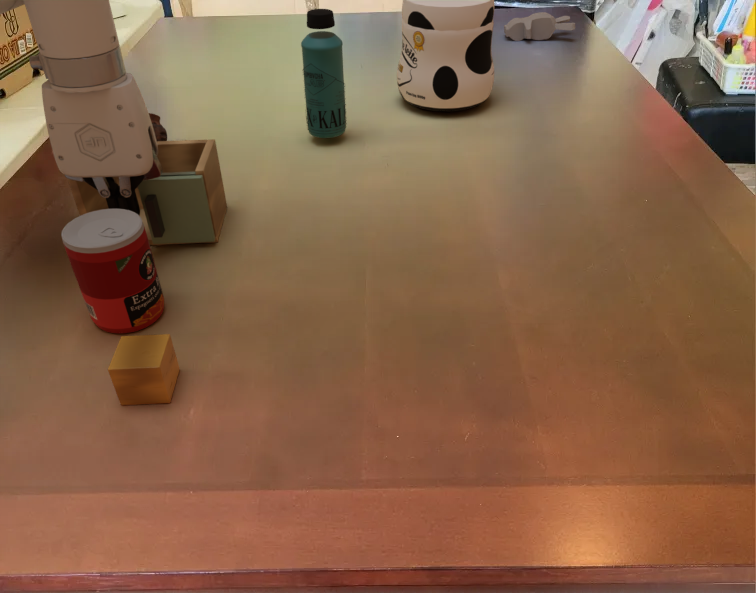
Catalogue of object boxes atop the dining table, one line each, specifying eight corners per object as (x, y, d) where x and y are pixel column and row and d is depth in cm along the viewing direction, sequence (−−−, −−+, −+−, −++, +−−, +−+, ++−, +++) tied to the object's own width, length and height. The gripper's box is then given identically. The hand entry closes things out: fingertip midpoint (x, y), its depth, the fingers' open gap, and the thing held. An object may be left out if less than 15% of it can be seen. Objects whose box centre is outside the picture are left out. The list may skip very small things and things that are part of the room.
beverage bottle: (314, 130, 111) (303, 3, 99) (352, 132, 110) (346, 5, 98) (302, 146, 106) (290, 15, 94) (342, 149, 105) (335, 16, 92)
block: (120, 405, 61) (107, 369, 58) (133, 371, 65) (121, 335, 62) (170, 403, 61) (159, 367, 58) (180, 369, 65) (170, 333, 62)
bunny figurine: (502, 14, 152) (568, 5, 150) (502, 37, 155) (567, 28, 153) (507, 25, 144) (577, 16, 143) (508, 49, 147) (576, 40, 146)
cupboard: (90, 247, 83) (65, 175, 77) (110, 212, 90) (89, 143, 84) (217, 242, 83) (203, 170, 77) (227, 207, 90) (215, 139, 84)
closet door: (149, 251, 80) (132, 186, 75) (154, 240, 82) (137, 177, 77) (212, 248, 80) (198, 184, 75) (215, 238, 82) (202, 174, 77)
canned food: (147, 339, 68) (120, 250, 62) (77, 331, 70) (43, 244, 63) (178, 295, 74) (156, 210, 68) (113, 289, 76) (85, 205, 69)
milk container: (377, 100, 121) (375, -4, 110) (443, 78, 130) (447, -21, 119) (444, 128, 110) (449, 15, 100) (511, 101, 119) (522, -5, 108)
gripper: (-5, 80, 64) (53, 240, 75) (150, 77, 64) (185, 237, 75) (25, 56, 70) (75, 207, 81) (167, 53, 70) (197, 205, 81)
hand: (127, 221), depth 78 cm, fingers closed
